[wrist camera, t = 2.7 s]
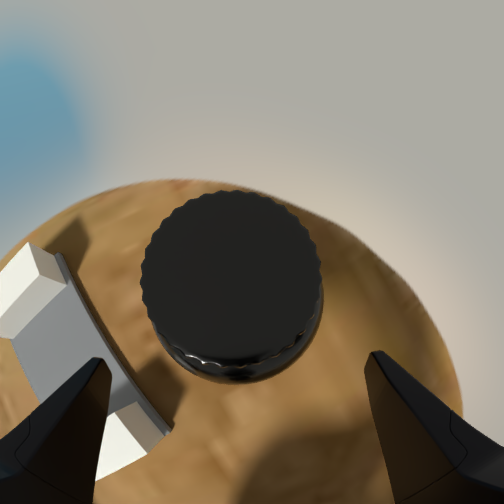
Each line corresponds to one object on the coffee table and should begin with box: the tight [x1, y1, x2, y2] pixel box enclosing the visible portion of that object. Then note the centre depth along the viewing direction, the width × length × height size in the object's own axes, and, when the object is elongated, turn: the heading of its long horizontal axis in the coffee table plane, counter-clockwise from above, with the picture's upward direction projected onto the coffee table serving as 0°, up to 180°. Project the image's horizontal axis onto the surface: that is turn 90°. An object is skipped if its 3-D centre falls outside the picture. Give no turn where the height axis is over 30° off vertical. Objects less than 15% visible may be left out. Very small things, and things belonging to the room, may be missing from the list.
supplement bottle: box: [140, 190, 324, 385], centre depth 13 cm, size 7×7×12 cm
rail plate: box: [0, 242, 172, 481], centre depth 15 cm, size 16×9×4 cm, turn 39°
